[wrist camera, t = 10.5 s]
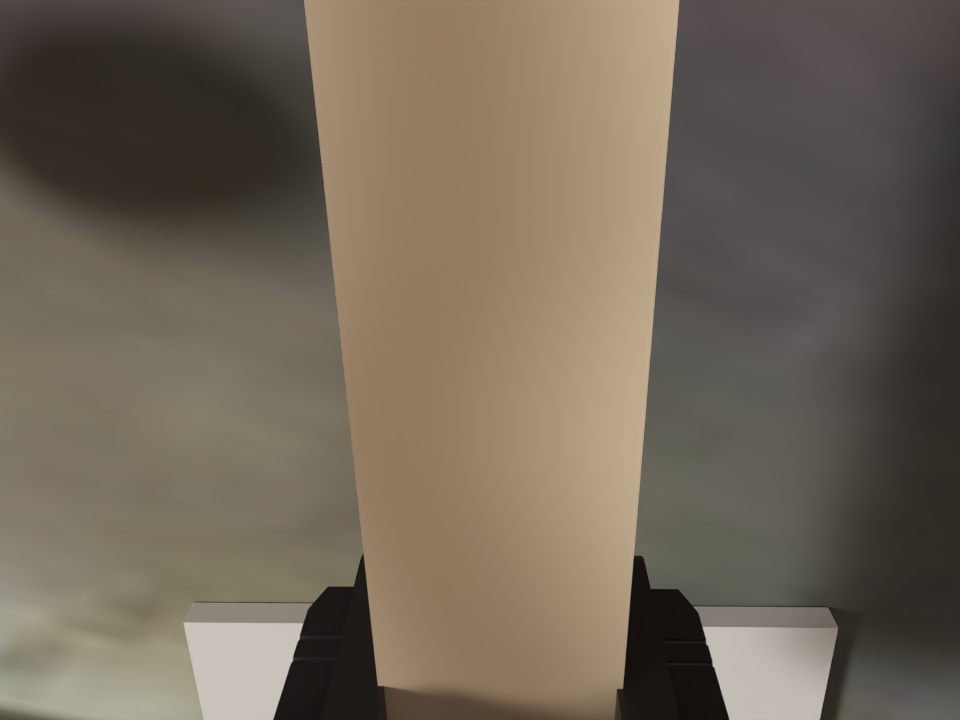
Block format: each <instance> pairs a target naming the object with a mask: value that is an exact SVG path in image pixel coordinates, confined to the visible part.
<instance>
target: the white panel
mask: <svg viewBox="0 0 960 720" xmlns="http://www.w3.org/2000/svg"><path fill="white" fill-rule="evenodd" d="M312 604H313V603H193V604H192V606H191V608H190V610H189V612H188V614H187V616H186V618H185V620H184V622H183V623H184V628H185V632H186V637H187V642H188V647H189V651H190V656H191V661H192V666H193V670H194V675H195V680H196V685H197V690H198V694H199V699H200V704H201V709H202V713H203V718H204V720H273V719H274V715H275V712H276V709H277V706H278V703H279V699H280V696H281V693H282V690H283V687H284V684H285V680H286V677H287V674H288V671H289V668H290V665H291V662H293V655H294V652H295V649H296V645H297V642H298V641H299V640H300V633H301V630H302V626H303V623H304V620H305V617H306V614H307V610H308V609H309V607H310V606H311V605H312ZM693 607H694V608H695V609H696V610H697V612H698V613H699V616H700V620H701V623H702V627H703V630H704V633H705V637H706V644H707V645H708V647H709V651H710V654H711V658H712V661H713V667H714V668H715V671H716V675H717V678H718V682H719V685H720V689H721V692H722V696H723V699H724V702H725V706H726V709H727V713H728V716H729V720H820V716H821V711H822V706H823V701H824V696H825V691H826V686H827V681H828V676H829V671H830V666H831V661H832V657H833V652H834V647H835V642H836V637H837V632H838V626H837V624H836V622H835V620H834V618H833V616H832V614H831V612H830V610H829V608H828V607H709V606H693Z"/></svg>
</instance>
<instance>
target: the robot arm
mask: <svg viewBox="0 0 960 720" xmlns="http://www.w3.org/2000/svg"><path fill="white" fill-rule="evenodd" d="M273 720H387V712H386V702H385V693H384V686H378V682H377V673H376V664H375V655H374V645H373V636H372V627H371V617H370V608H369V599H368V589H367V580H366V571H365V562H364V554H363V555H362V557H361V560H360V564H359V568H358V572H357V576H356V580H355V584H354V587H327V589H326V590H325V591H324V592H323V593H322V594H321V595H320V596H319V597H318V599H317V600H316V601H315V602H314V603H313V604H312V605H311V606H310V607H309V609H308V610H307V614H306V617H305V620H304V623H303V626H302V630H301V633H300V640H299V641H298V642H297V645H296V649H295V652H294V655H293V662H291V665H290V668H289V671H288V674H287V677H286V680H285V684H284V687H283V690H282V693H281V696H280V699H279V703H278V706H277V709H276V712H275V715H274V719H273ZM614 720H729V716H728V713H727V709H726V706H725V702H724V699H723V696H722V692H721V689H720V685H719V682H718V678H717V675H716V671H715V668H714V667H713V661H712V658H711V654H710V651H709V647H708V645H707V644H706V637H705V633H704V630H703V627H702V623H701V620H700V616H699V613H698V612H697V610H696V609H695V608H694V607H693V606H692V605H691V604H690V602H689V601H688V600H687V599H686V598H685V597H684V596H683V594H682V593H681V592H680V591H679V590H678V589H650V584H649V580H648V575H647V571H646V566H645V562H644V559H643V557H642V556H634V560H633V572H632V584H631V596H630V609H629V621H628V633H627V645H626V658H625V670H624V682H623V689H617V693H616V706H615V719H614Z"/></svg>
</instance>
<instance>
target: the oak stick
mask: <svg viewBox="0 0 960 720" xmlns="http://www.w3.org/2000/svg"><path fill="white" fill-rule="evenodd" d="M304 4H305V13H306V22H307V31H308V41H309V50H310V59H311V69H312V78H313V87H314V97H315V106H316V115H317V124H318V134H319V143H320V152H321V162H322V171H323V180H324V190H325V199H326V208H327V217H328V227H329V236H330V245H331V255H332V264H333V273H334V283H335V292H336V301H337V310H338V320H339V329H340V338H341V348H342V357H343V366H344V376H345V385H346V394H347V403H348V413H349V422H350V431H351V441H352V450H353V459H354V469H355V478H356V487H357V496H358V506H359V515H360V524H361V534H362V543H363V552H364V562H365V571H366V580H367V589H368V599H369V608H370V617H371V627H372V636H373V645H374V655H375V664H376V673H377V682H378V686H384V693H385V702H386V712H387V720H614V719H615V706H616V693H617V689H623V682H624V670H625V658H626V645H627V633H628V621H629V609H630V596H631V584H632V572H633V560H634V547H635V535H636V523H637V511H638V498H639V486H640V474H641V462H642V450H643V437H644V425H645V413H646V401H647V388H648V376H649V364H650V352H651V339H652V327H653V315H654V303H655V290H656V278H657V266H658V254H659V241H660V229H661V217H662V205H663V192H664V180H665V168H666V156H667V143H668V131H669V119H670V107H671V94H672V82H673V70H674V58H675V45H676V33H677V21H678V9H679V0H304Z"/></svg>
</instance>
